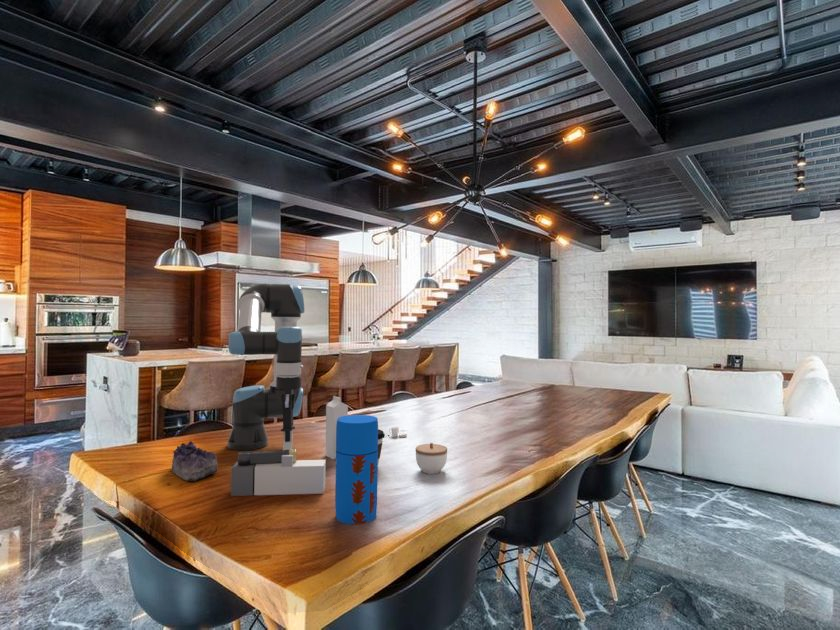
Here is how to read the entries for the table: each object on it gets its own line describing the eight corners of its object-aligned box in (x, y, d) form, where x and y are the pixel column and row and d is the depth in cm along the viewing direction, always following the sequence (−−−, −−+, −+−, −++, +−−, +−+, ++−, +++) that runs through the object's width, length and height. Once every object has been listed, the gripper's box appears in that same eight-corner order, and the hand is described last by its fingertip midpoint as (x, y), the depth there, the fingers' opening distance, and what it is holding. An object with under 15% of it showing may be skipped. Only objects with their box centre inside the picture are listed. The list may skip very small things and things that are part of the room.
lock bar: (296, 462, 137) (296, 452, 137) (236, 466, 133) (236, 455, 133) (296, 458, 141) (296, 448, 141) (238, 461, 137) (238, 451, 137)
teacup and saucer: (409, 437, 203) (409, 427, 203) (398, 441, 197) (398, 431, 197) (393, 434, 208) (393, 425, 208) (382, 437, 201) (382, 428, 201)
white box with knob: (236, 488, 138) (237, 451, 139) (325, 486, 141) (325, 449, 141) (230, 495, 132) (231, 457, 133) (323, 493, 135) (323, 455, 135)
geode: (157, 471, 153) (161, 440, 154) (192, 468, 162) (196, 439, 163) (184, 483, 140) (188, 449, 141) (221, 479, 149) (225, 447, 150)
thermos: (337, 507, 125) (338, 414, 126) (377, 506, 126) (378, 414, 126) (333, 525, 114) (334, 423, 115) (376, 524, 115) (378, 423, 116)
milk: (332, 459, 168) (333, 398, 168) (325, 455, 173) (325, 396, 173) (347, 456, 172) (348, 397, 172) (340, 452, 176) (340, 394, 176)
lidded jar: (424, 478, 149) (424, 449, 150) (409, 468, 159) (410, 441, 159) (453, 473, 154) (453, 445, 154) (437, 464, 164) (437, 437, 164)
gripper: (299, 378, 140) (298, 456, 140) (302, 373, 153) (301, 444, 153) (273, 378, 138) (272, 457, 138) (278, 373, 151) (277, 445, 151)
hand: (287, 451), depth 146 cm, fingers closed
